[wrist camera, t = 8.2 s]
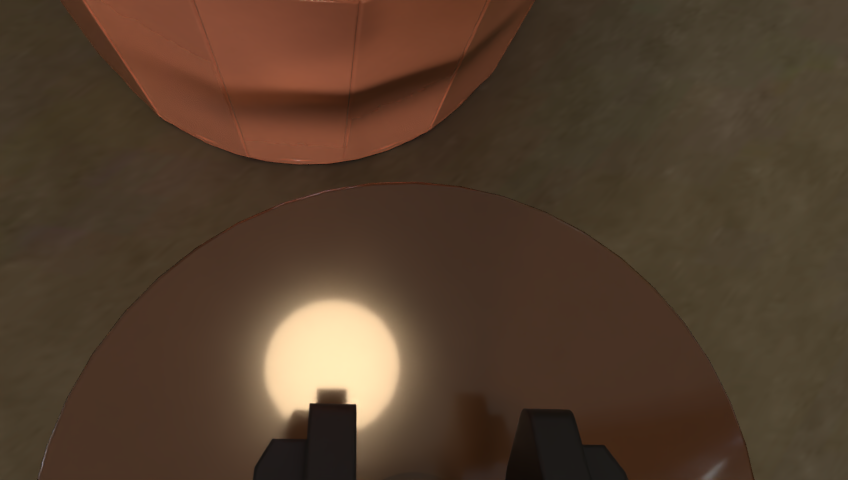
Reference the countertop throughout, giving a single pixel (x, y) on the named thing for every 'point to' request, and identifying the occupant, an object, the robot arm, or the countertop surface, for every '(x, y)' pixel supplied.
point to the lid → (395, 348)
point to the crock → (302, 67)
